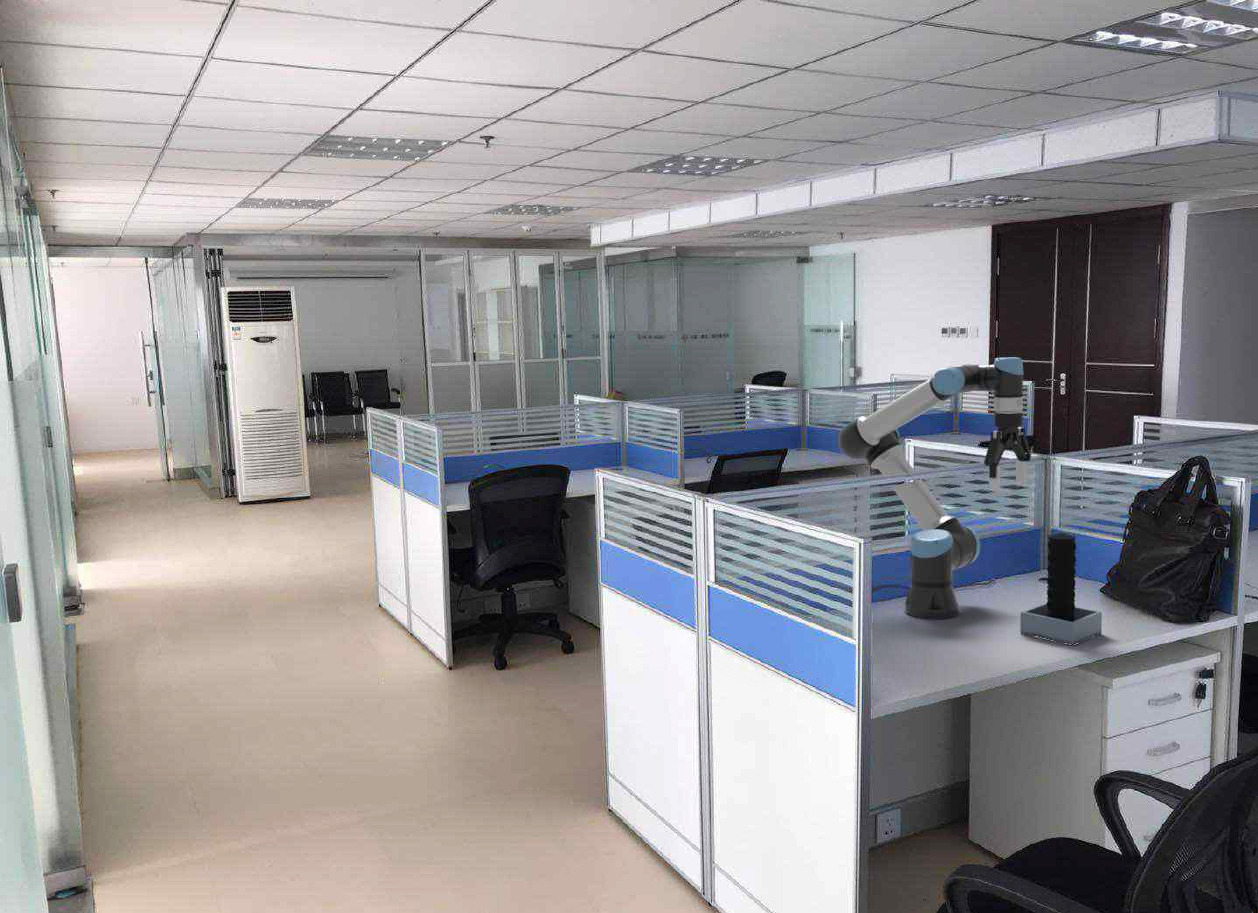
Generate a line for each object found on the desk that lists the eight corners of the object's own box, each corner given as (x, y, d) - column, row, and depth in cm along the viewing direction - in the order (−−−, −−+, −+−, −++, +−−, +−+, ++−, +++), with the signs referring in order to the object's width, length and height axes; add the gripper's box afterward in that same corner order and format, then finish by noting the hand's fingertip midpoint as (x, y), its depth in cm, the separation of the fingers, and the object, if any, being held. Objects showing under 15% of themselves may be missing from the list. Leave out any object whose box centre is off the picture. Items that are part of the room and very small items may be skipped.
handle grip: (1044, 635, 255) (1085, 636, 253) (1045, 536, 251) (1087, 536, 249) (1036, 624, 264) (1075, 625, 262) (1037, 529, 261) (1077, 529, 259)
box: (1020, 633, 260) (1020, 612, 259) (1048, 622, 269) (1049, 601, 268) (1073, 646, 248) (1073, 623, 248) (1101, 633, 257) (1101, 611, 256)
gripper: (995, 416, 263) (995, 493, 266) (1044, 409, 278) (1043, 482, 281) (971, 415, 269) (970, 490, 272) (1020, 408, 284) (1019, 480, 287)
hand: (1007, 486), depth 276 cm, fingers open, 13 cm apart
